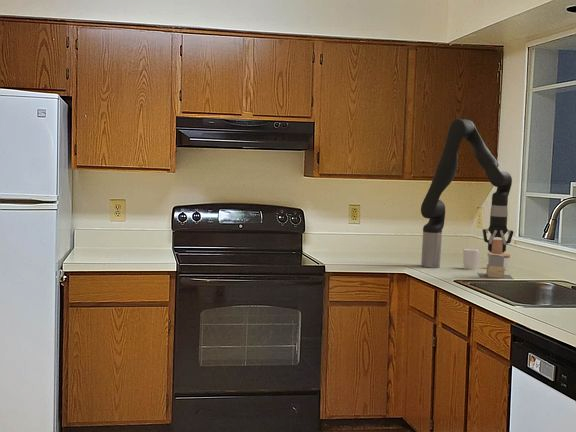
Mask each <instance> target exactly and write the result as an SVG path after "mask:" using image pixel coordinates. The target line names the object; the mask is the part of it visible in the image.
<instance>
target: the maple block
mask: <svg viewBox="0 0 576 432" xmlns="http://www.w3.org/2000/svg"><path fill="white" fill-rule="evenodd" d="M505 270H506V269H505V267H504V266H503V267H500V266H490V265H489V264H488V263H487V264H486V275H487V276H488V277H499V278H504V275H505Z"/></svg>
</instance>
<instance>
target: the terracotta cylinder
mask: <svg viewBox="0 0 576 432" xmlns="http://www.w3.org/2000/svg"><path fill="white" fill-rule="evenodd" d="M491 244H492V248H491V252H490V253H494V254H502V253H503V240H502V239H495V238H494V239H493V240H492V242H491Z"/></svg>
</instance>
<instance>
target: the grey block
mask: <svg viewBox="0 0 576 432" xmlns="http://www.w3.org/2000/svg"><path fill="white" fill-rule="evenodd" d="M487 264H489V265H490V266H500V267H503V266H504V256H503V255H490V254H489V260H488V259H487Z"/></svg>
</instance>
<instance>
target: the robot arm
mask: <svg viewBox="0 0 576 432" xmlns="http://www.w3.org/2000/svg"><path fill="white" fill-rule="evenodd" d="M463 139H464V140H466V141H467V142H468V143H469V144H470V146H471V147H472V150H473V152H474V156H475V160H476V161H477V163H478V164H479V165H480V166H481V168H482V169H483V171H484V172H485V174H486V176H487V179H488V181H489V182H490V183H491V185H492V186H493V187H496V191H494V192H493V193H492V195H491V206H490V218H489V227H488V228H483V229H482V236H483V242H485V243H487V251H488V253H491V248H492V244H491V242H492V240H493V239H495V238H500V240H503V253H505V252H506V251H507V245H508V244H511V241H512V238H513V236H514V230H512V229H508V227H507V226H508V214H509V210H508V208H509V207H508V204H509V203H508V202H509V201H508V200H509V195H510V192H511V188H512V184H513V177H512V174H510V172H508V171H501V170H500V168H499V162H498V160H497V159H496V157H495V156H494V155H493V154H492V152H491V151H490V149H489V148H488V146H486V144H485V142H484V140H483V139H482V137H481V134H480V133H479V131H478V129H477V127H476V125H475V124H474V122H473V121H472V120H470V119H466V118H456V119H454V120H453V121H451V124H450V126H449V127H448V132H447V135H446V139H445V140H446V141H445V145H444V147H443V150H442V153H441V156H440V158H439V161H438V163H437V166H436V169H435V172H434V176H433V177H432V180H431V183H430V185H429V187H428V191H427V193H426V195H425V197H424V198H423V200H422V203H421V207H420V214H421V215H422V217H423V218H425V219H428V222H427V223H426V224H424V225H423V227H422V244H421V245H422V246H421V258H420V259H421V263H420V266H421V267H423V268H432V269H435V268H436V269H437V268H441V257H442V256H441V255H442V236H443V229H444V227H445V219H446V205H445V203H444V202H443V200H441V199H440V198H441V196H442V194H443V192H444V191H445V190H446V189H447V188H448V186H449V185H450V184H451V183H452V181H453V180H454V178H455V176H456V173H457V170H458V167H459V157H458V156H459V155H458V150H459V148H460V144H461V141H462V140H463ZM488 232H489V234H490V236H489V239H488V236H487V234H488ZM506 234H508V237H507V239H506V238H505V235H506Z"/></svg>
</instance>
